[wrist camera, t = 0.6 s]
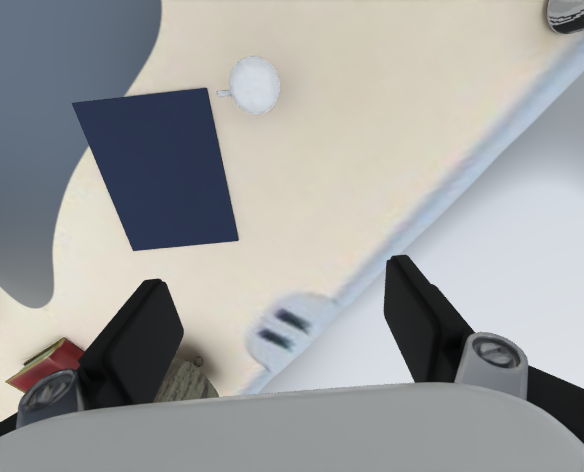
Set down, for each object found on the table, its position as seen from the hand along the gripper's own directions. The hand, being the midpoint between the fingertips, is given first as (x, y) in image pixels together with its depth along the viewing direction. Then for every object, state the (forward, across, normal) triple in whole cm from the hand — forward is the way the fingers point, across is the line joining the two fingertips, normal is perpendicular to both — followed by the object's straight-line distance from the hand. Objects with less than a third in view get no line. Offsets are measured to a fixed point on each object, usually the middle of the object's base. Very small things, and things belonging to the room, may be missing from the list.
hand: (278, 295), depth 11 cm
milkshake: (+27, +2, -9) cm, 28 cm away
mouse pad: (+27, +16, 0) cm, 31 cm away
